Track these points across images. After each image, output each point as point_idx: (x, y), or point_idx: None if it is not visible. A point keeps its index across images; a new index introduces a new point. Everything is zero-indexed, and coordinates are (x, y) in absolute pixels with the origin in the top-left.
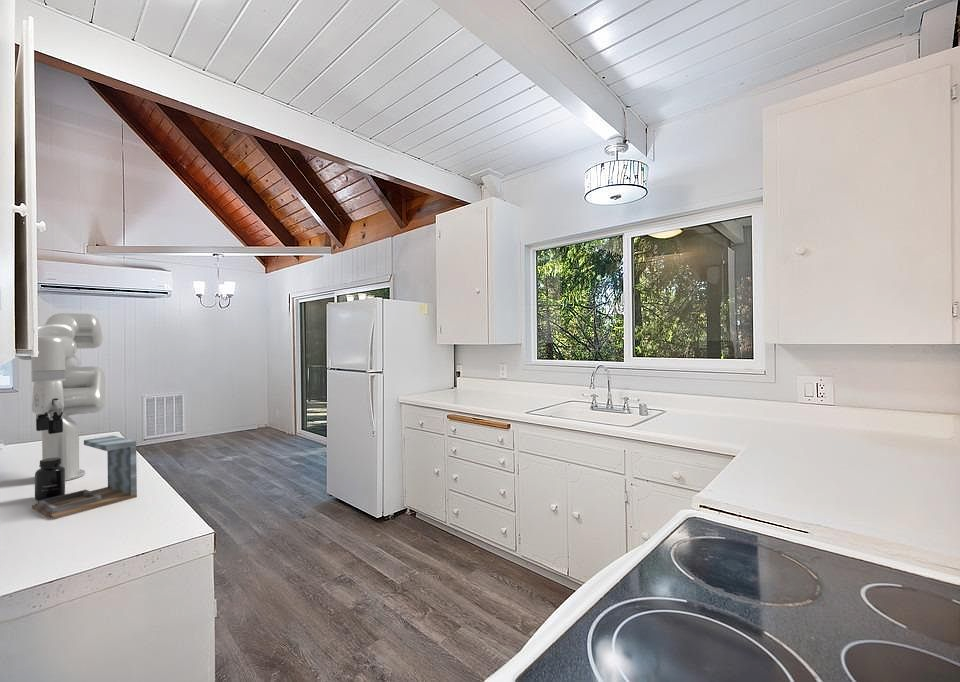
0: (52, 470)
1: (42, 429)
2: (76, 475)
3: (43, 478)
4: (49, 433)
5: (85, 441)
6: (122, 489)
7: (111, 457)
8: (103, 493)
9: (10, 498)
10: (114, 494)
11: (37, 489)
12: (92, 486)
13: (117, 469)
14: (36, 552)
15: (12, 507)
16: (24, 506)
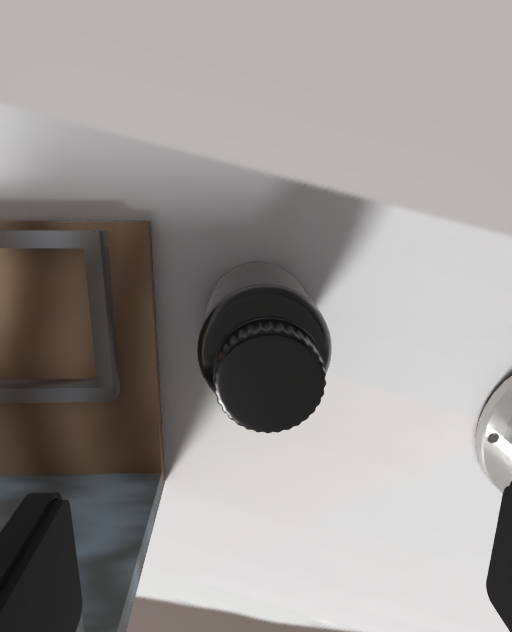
0: (203, 351)
1: (501, 532)
2: (483, 464)
3: (215, 302)
4: (29, 497)
5: None
6: (12, 483)
7: None
8: (66, 432)
9: (413, 218)
10: (10, 449)
11: (242, 273)
12: (280, 450)
13: None
14: None
15: (248, 181)
16: (216, 213)
